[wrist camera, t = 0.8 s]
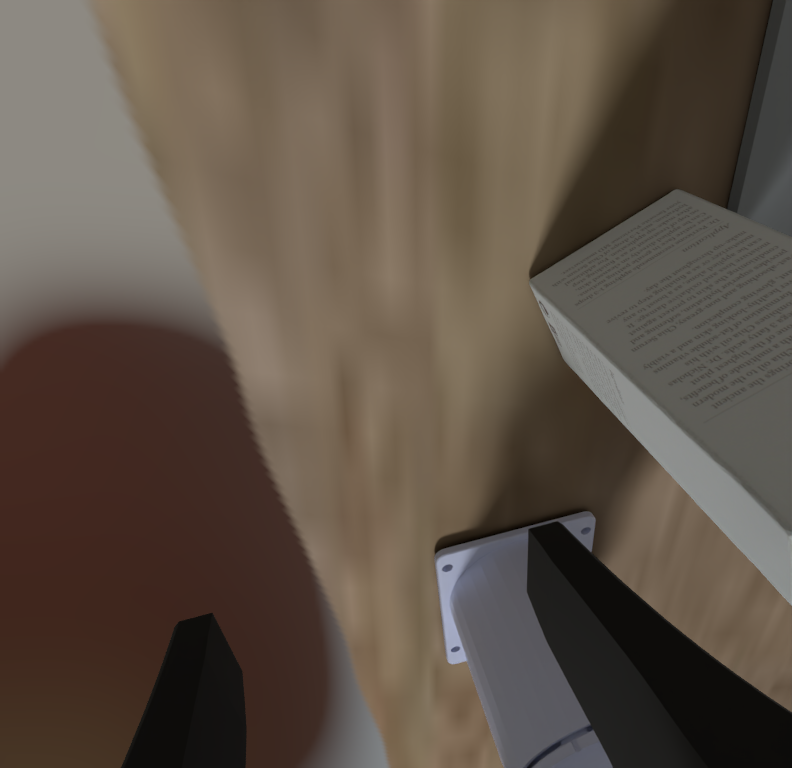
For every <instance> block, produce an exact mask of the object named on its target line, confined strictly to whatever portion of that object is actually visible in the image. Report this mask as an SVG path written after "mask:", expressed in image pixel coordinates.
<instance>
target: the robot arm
mask: <svg viewBox="0 0 792 768" xmlns="http://www.w3.org/2000/svg"><path fill="white" fill-rule="evenodd" d="M595 522H596V519H595V517H594V516H593V514H592V513H591V512H589V511H584V512H580V513H576V514H572V515H569V516H565V517H561V518H557V519H554V520H550V521H546V522H542V523H538V524H535V525H531V526H527V527H523V528H520V529H516V530H512V531H508V532H505V533H501V534H497V535H493V536H489V537H486V538H482V539H478V540H474V541H471V542H467V543H463V544H459V545H456V546H452V547H448V548H444V549H442V550H440V551H438V552H437V553H436V555H435V558H434V559H435V568H436V576H437V584H438V593H439V601H440V609H441V618H442V626H443V635H444V643H445V651H446V657H447V661H448V663H450V664H457V663H461V662H464V661H467V663H468V666H469V669H470V672H471V675H472V678H473V680H474V683H475V686H476V689H477V692H478V695H479V698H480V701H481V704H482V707H483V710H484V712H485V715H486V718H487V721H488V724H489V727H490V730H491V733H492V736H493V739H494V741H495V744H496V747H497V750H498V753H499V756H500V759H501V762H502V764H503V766H504V768H792V712H790V711H789V710H787V709H786V708H784V707H783V706H781V705H780V704H778V703H777V702H775V701H774V700H772V699H771V698H769V697H768V696H766V695H765V694H763V693H762V692H761V691H759V690H758V689H756V688H755V687H754V686H752V685H751V684H749V683H748V682H747V681H745V680H744V679H742V678H741V677H739V676H738V675H737V674H735V673H734V672H733V671H731V670H730V669H728V668H727V667H726V666H724V665H723V664H722V663H720V662H719V661H718V660H716V659H715V658H714V657H712V656H711V655H710V654H709V653H707V652H706V651H705V650H703V649H702V648H701V647H700V646H698V645H697V644H696V643H694V642H693V641H692V640H691V639H689V638H688V637H687V636H686V635H684V634H683V633H682V632H681V631H679V630H678V629H677V628H676V627H674V626H673V625H672V624H671V623H670V622H668V621H667V620H666V619H665V618H664V617H662V616H661V615H660V614H659V613H658V612H657V611H655V610H654V609H653V608H652V607H651V606H650V605H648V604H647V603H646V602H645V601H644V600H643V599H642V598H640V597H639V596H638V595H637V594H636V593H635V592H633V591H632V590H631V589H630V588H629V587H628V586H627V585H626V584H624V583H623V582H622V581H621V580H620V579H619V578H618V577H617V576H616V575H615V574H613V573H612V572H611V571H610V570H609V569H608V568H607V567H606V566H605V565H604V564H603V563H602V562H601V561H600V560H599V559H597V558H596V557H595V556H594V555H593V554H592V546H593V538H594V530H595ZM242 675H243V674H242V670H241V668H240V666H239V664H238V662H237V660H236V658H235V656H234V655H233V652H232V650H231V648H230V647H229V645H228V642H227V641H226V639H225V637H224V635H223V633H222V631H221V629H220V627H219V625H218V623H217V621H216V619H215V617H214V615H213V613H210V614H206V615H202V616H198V617H195V618H191V619H187V620H184V621H180V622H178V624H177V625H176V626H175V628H174V631H173V634H172V637H171V640H170V643H169V646H168V649H167V652H166V655H165V658H164V660H163V663H162V666H161V669H160V672H159V674H158V677H157V680H156V682H155V685H154V688H153V690H152V693H151V696H150V698H149V701H148V703H147V706H146V709H145V711H144V714H143V716H142V718H141V721H140V723H139V726H138V728H137V731H136V733H135V736H134V738H133V740H132V743H131V746H130V748H129V750H128V753H127V755H126V757H125V760H124V762H123V764H122V767H121V768H245V765H246V714H245V701H244V687H243V676H242Z"/></svg>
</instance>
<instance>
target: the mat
mask: <svg viewBox="0 0 792 768" xmlns="http://www.w3.org/2000/svg"><path fill="white" fill-rule="evenodd" d="M727 210H730V211H732V212H735V213H737V214H739V215H741V216H744V217H746V218H748V219H751V220H753V221H755V222H758V223H760V224H762V225H765V226H767V227H769V228H771V229H774V230H776V231H779V232H781V233H783V234H786V235H788V236H790V237H792V0H773V3H772V7H771V12H770V17H769V21H768V26H767V30H766V35H765V39H764V44H763V48H762V53H761V57H760V62H759V67H758V71H757V76H756V80H755V85H754V89H753V94H752V98H751V103H750V107H749V112H748V116H747V121H746V126H745V130H744V135H743V139H742V144H741V148H740V153H739V157H738V162H737V166H736V171H735V176H734V180H733V185H732V189H731V194H730V198H729V203H728V207H727Z"/></svg>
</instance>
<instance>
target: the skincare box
mask: <svg viewBox="0 0 792 768" xmlns="http://www.w3.org/2000/svg"><path fill="white" fill-rule="evenodd" d="M529 284H530V286H531V288H532V291H533V293H534V295H535V297H536V299H537V302H538V304H539V306H540V309H541V311H542V313H543V316H544V318H545V320H546V322H547V324H548V326H549V328H550V330H551V332H552V335H553V337H554V339H555V341H556V343H557V346H558V348H559V350H560V353H561V355H562V357H563V359H564V361H565V362H566V363H567V364H568V365H569V366H570V368H571V369H572V370H573V371H574V372H575V373H576V374H577V375H578V376H579V377H580V378H581V379H582V380H583V381H584V382H585V384H586V385H587V386H588V387H589V388H590V389H591V390H592V391H593V392H594V393H595V395H596V396H597V397H598V398H599V399H600V400H601V401H602V402H603V403H604V404H605V405H606V406H607V407H608V408H609V410H610V411H611V412H612V413H613V414H614V415H615V416H616V417H617V418H618V419H619V420H620V421H621V422H622V424H623V425H624V426H625V427H626V428H627V429H628V430H629V431H630V432H631V433H632V434H633V435H634V436H635V438H636V439H637V440H638V441H639V442H640V443H641V444H642V445H643V446H644V447H645V448H646V449H647V450H648V451H649V453H650V454H651V455H652V456H653V457H654V458H655V459H656V460H657V461H658V462H659V463H660V464H661V466H662V467H663V468H664V469H665V470H666V471H667V472H668V473H669V474H670V475H671V476H672V477H673V478H674V479H675V480H676V481H677V483H678V484H679V485H680V486H681V487H682V488H683V489H684V490H685V491H686V492H687V493H688V494H689V495H690V496H691V498H692V499H693V500H694V501H695V502H696V503H697V504H698V505H699V507H700V508H701V509H702V510H703V511H704V512H705V513H706V514H707V515H708V516H709V517H710V518H711V519H712V520H713V521H714V522H715V524H716V525H717V526H718V527H719V528H720V529H721V530H722V531H723V532H724V533H725V534H726V535H727V536H728V538H729V539H730V540H731V541H732V542H733V543H734V544H735V545H736V546H737V547H738V548H739V549H740V550H741V551H742V552H743V553H744V554H745V556H746V557H747V558H748V559H749V560H750V561H751V562H752V563H753V564H754V565H755V566H756V567H757V568H758V569H759V570H760V571H761V573H762V574H763V575H764V576H765V577H766V578H767V579H768V580H769V581H770V583H771V584H772V585H773V586H774V587H775V588H776V589H777V590H778V591H779V592H780V594H781V595H782V596H783V597H784V598H785V599H786V600H787V601H788V602H789V603H790V604H791V605H792V237H790V236H788V235H786V234H783V233H781V232H779V231H776V230H774V229H771V228H769V227H767V226H765V225H762V224H760V223H758V222H755V221H753V220H751V219H748V218H746V217H744V216H741V215H739V214H737V213H735V212H732V211H730V210H727V209H725V208H723V207H720V206H718V205H716V204H713V203H711V202H709V201H706V200H704V199H702V198H699V197H697V196H695V195H692V194H690V193H687V192H685V191H683V190H679V189H676V190H673V191H672V192H670V193H669V194H667V195H666V196H664V197H663V198H661V199H659V200H658V201H656V202H655V203H653V204H651V205H650V206H648V207H647V208H645V209H643V210H642V211H640V212H638V213H637V214H635V215H634V216H632V217H630V218H629V219H627V220H626V221H624V222H622V223H621V224H619V225H617V226H616V227H614V228H613V229H611V230H609V231H608V232H606V233H605V234H603V235H601V236H600V237H598V238H597V239H595V240H593V241H592V242H590V243H589V244H587V245H585V246H584V247H582V248H580V249H579V250H577V251H575V252H574V253H572V254H571V255H569V256H567V257H566V258H564V259H562V260H561V261H559V262H558V263H556V264H554V265H553V266H551V267H550V268H548V269H546V270H545V271H543V272H542V273H540V274H538V275H536V276H535V277H533V278H531V279H530V280H529Z"/></svg>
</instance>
